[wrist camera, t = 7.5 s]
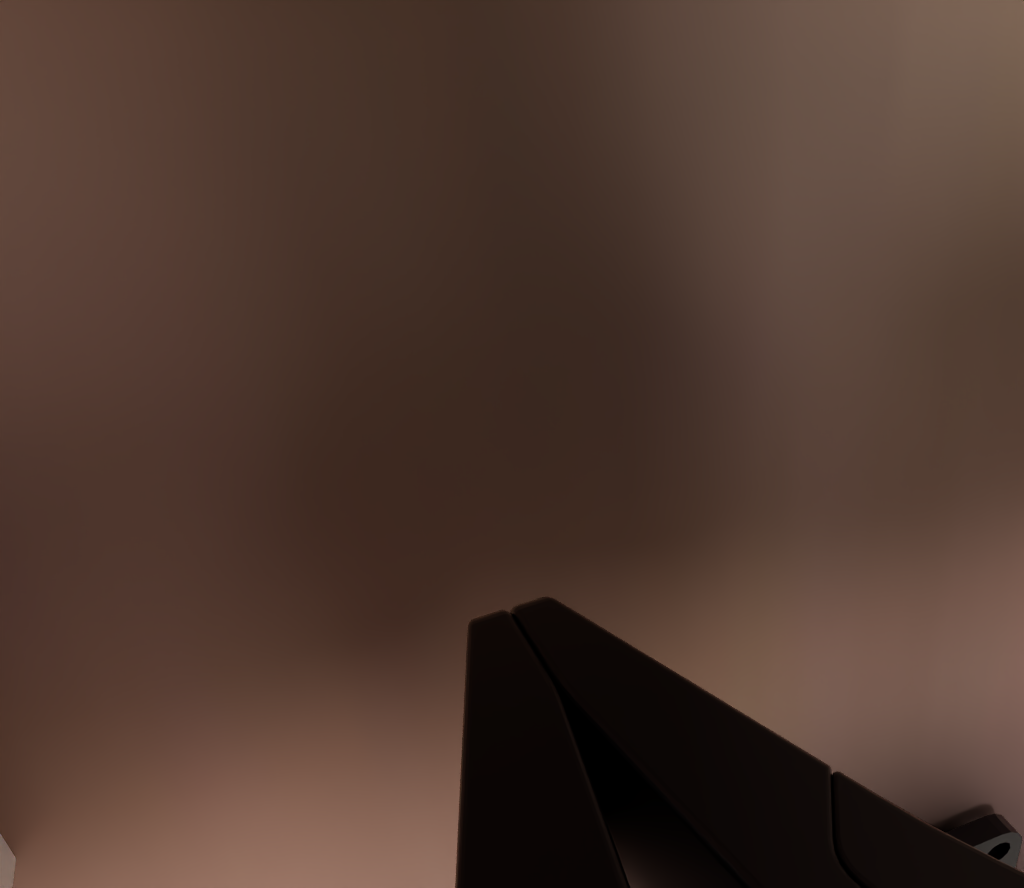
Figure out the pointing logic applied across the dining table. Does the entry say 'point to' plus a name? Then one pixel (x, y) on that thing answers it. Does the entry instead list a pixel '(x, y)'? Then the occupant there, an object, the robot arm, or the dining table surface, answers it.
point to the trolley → (6, 865)
